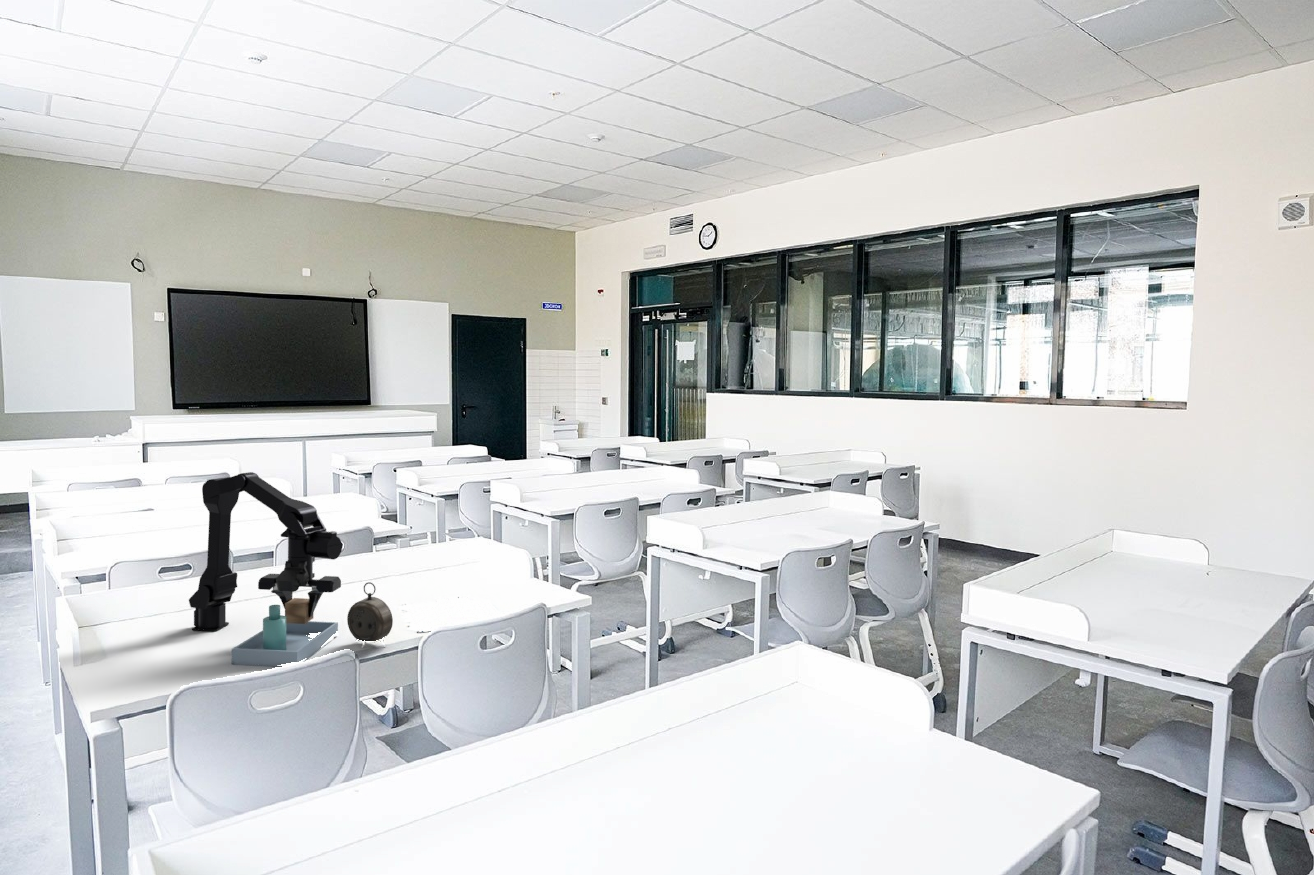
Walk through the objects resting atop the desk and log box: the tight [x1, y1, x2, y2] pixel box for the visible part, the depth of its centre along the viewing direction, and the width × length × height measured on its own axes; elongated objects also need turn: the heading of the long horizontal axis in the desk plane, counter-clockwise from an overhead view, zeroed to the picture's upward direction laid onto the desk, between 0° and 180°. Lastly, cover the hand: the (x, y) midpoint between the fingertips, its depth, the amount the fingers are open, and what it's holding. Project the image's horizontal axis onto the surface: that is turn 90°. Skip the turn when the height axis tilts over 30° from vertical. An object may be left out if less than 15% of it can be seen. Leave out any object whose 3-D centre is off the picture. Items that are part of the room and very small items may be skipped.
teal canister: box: [262, 604, 286, 650], centre depth 193 cm, size 5×5×12 cm
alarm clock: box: [346, 581, 394, 642], centre depth 204 cm, size 11×5×16 cm, turn 71°
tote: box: [231, 620, 339, 667], centre depth 200 cm, size 15×23×4 cm, turn 179°
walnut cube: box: [284, 597, 314, 624], centre depth 206 cm, size 5×5×5 cm
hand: (299, 616), depth 206 cm, fingers closed on walnut cube, 5 cm apart
